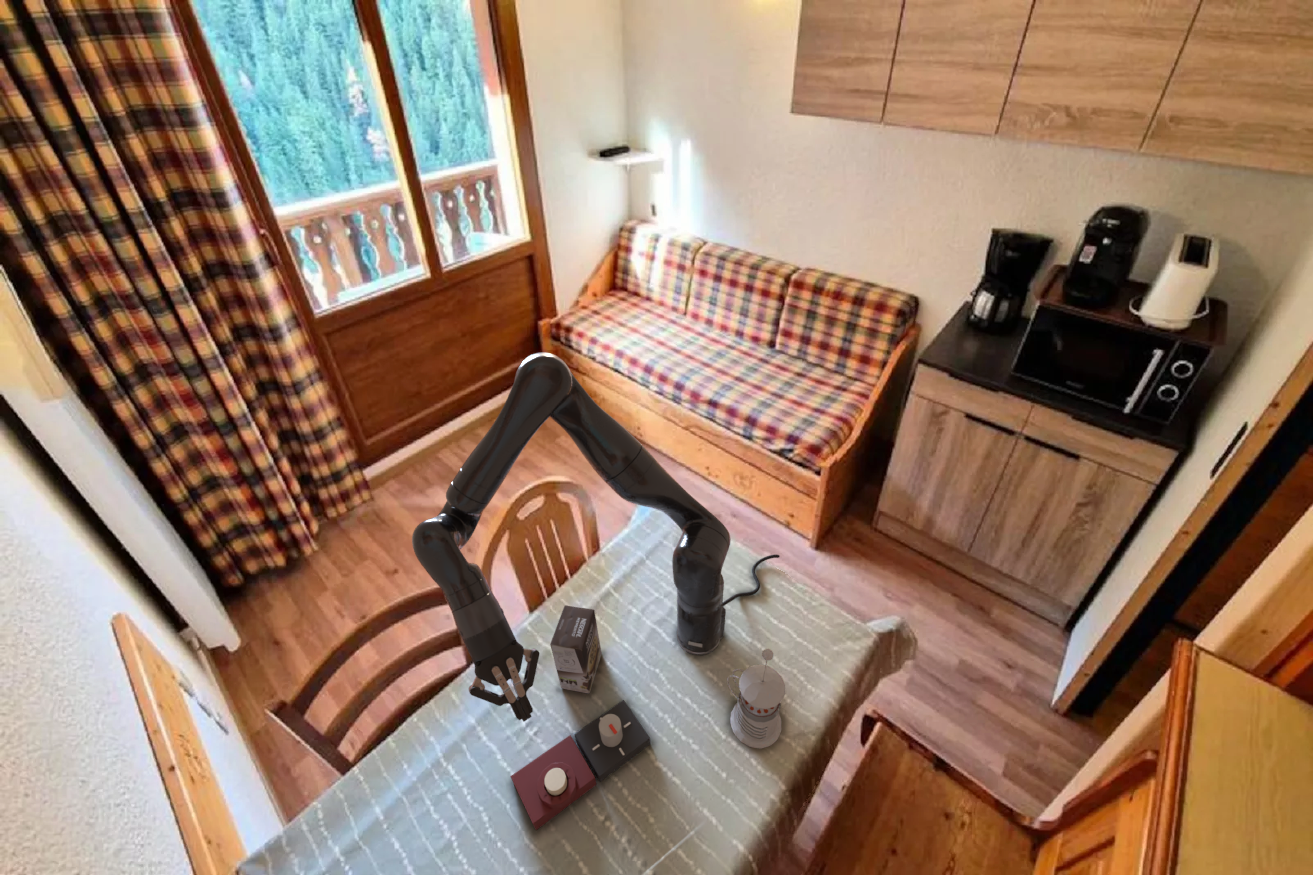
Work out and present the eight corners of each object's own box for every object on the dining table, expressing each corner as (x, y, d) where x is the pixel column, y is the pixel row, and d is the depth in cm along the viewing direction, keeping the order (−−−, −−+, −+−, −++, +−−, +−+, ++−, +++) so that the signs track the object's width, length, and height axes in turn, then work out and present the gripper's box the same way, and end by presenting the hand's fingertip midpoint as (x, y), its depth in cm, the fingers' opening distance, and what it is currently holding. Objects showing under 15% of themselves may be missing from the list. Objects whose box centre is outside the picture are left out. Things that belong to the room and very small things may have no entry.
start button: (561, 768, 100) (559, 763, 99) (571, 786, 98) (569, 781, 96) (542, 781, 99) (540, 776, 97) (552, 800, 96) (550, 795, 95)
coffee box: (590, 694, 115) (581, 651, 105) (560, 688, 116) (548, 645, 106) (603, 653, 122) (595, 608, 111) (574, 648, 123) (564, 603, 113)
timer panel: (624, 705, 113) (623, 699, 111) (650, 744, 107) (650, 738, 105) (575, 739, 108) (573, 733, 106) (600, 782, 102) (598, 776, 101)
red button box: (572, 742, 108) (569, 730, 105) (599, 788, 102) (596, 777, 98) (513, 783, 103) (508, 772, 99) (537, 834, 96) (533, 824, 93)
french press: (762, 760, 104) (776, 693, 89) (712, 717, 111) (717, 647, 95) (791, 719, 110) (810, 649, 94) (742, 680, 116) (751, 608, 100)
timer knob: (596, 734, 106) (594, 722, 103) (614, 720, 108) (612, 708, 105) (609, 752, 104) (606, 740, 101) (626, 737, 106) (625, 726, 103)
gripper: (515, 603, 103) (556, 691, 102) (443, 643, 97) (486, 736, 97) (523, 606, 96) (567, 700, 96) (445, 649, 90) (492, 749, 90)
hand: (526, 718), depth 96 cm, fingers closed
